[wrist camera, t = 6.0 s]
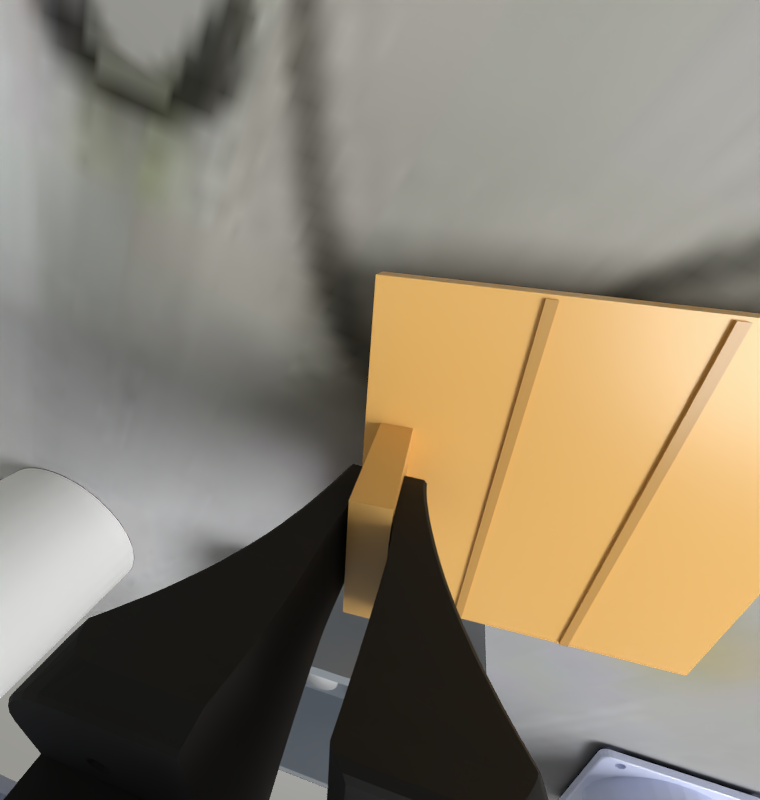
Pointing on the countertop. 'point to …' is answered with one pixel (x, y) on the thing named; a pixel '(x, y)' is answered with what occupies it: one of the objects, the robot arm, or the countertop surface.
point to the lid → (567, 462)
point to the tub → (335, 692)
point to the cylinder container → (51, 564)
